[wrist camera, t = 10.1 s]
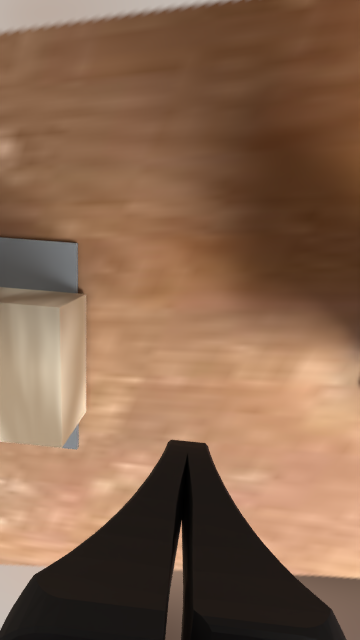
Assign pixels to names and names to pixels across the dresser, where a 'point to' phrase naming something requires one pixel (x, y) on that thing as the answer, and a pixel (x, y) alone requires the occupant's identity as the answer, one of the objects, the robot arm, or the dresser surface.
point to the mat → (40, 274)
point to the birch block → (41, 365)
